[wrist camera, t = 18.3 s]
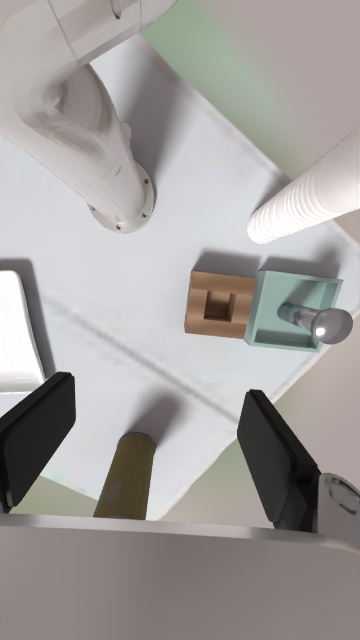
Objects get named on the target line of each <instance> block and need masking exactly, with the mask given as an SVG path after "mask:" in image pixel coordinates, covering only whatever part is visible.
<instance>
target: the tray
mask: <svg viewBox="0 0 360 640" xmlns="http://www.w3.org/2000/svg"><path fill="white" fill-rule="evenodd" d="M342 283H343V280H340V279H332V278H324V277H316V276H308V275H300V274H291V273H283V272H275V271H267V270H266V271H258V275H257V280H256V285H255V289H254V294H253V299H252V303H251V308H250V313H249V317H248V322H247V327H246V331H245V336H244V341H245V342H246V343H247V344H248V345H250V346H259V347H268V348H278V349H288V350H297V351H307V352H317V353H319V352H320V349H321V346H322V343H323V342H320V341H318V340H316V339H315V338H314V337H313V336H312V334H311V332H310V331H307V330H305V329H303V328H300V327H298V326H295V325H293V324H291V323H288V322H286V321H284V320H281V319H280V318H279V317H278V315H277V310H278V308H279V307H280V305H282V304H283V303H293V304H297V305H301V306H305V307H309V308H314V309H318V310H324V309H327V308H334V307H335V304H336V301H337V298H338V295H339V292H340V289H341V286H342Z"/></svg>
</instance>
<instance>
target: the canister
mask: <svg viewBox="0 0 360 640" xmlns="http://www.w3.org/2000/svg"><path fill="white" fill-rule="evenodd" d="M154 454H155V444H154V442H153V440H152V439H151V438H150V437H149V436H147V435H145V434H142V433H135V432H134V433H129V434H127V435H125V436H123V437H122V438H121V439H120V440H119V442H118V444H117V449H116V452H115V455H114V458H113V461H112V464H111V467H110V469H109V472H108V475H107V478H106V481H105V484H104V487H103V489H102V492H101V495H100V498H99V501H98V504H97V507H96V509H95V512H94V515H93V518H111V519H129V520H145V519H146V511H147V503H148V496H149V488H150V480H151V472H152V465H153V457H154Z"/></svg>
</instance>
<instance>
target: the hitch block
mask: <svg viewBox="0 0 360 640" xmlns="http://www.w3.org/2000/svg"><path fill="white" fill-rule="evenodd" d="M256 280H257V279H255V278H246V277H238V276H230V275H222V274H213V273H205V272H197V271H192V272H191V276H190V284H189V292H188V300H187V308H186V315H185V323H184V328H185V333H190V334H200V335H210V336H219V337H229V338H238V339H244V336H245V331H246V327H247V322H248V317H249V313H250V308H251V303H252V299H253V294H254V289H255V285H256Z"/></svg>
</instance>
